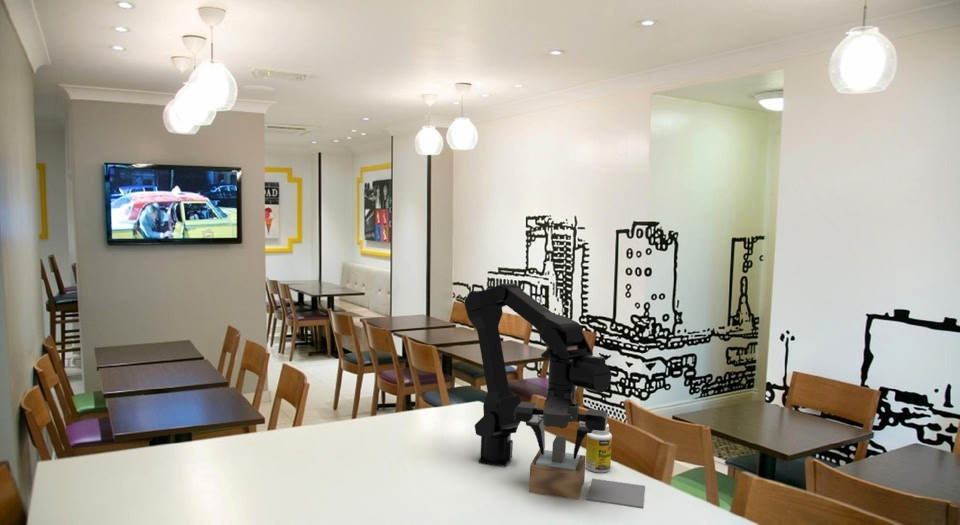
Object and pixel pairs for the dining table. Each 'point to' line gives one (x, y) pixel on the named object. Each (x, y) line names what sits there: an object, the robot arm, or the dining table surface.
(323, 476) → the dining table surface
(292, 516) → the dining table surface
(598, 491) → the mat
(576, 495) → the walnut box
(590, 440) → the supplement bottle
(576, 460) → the lid
